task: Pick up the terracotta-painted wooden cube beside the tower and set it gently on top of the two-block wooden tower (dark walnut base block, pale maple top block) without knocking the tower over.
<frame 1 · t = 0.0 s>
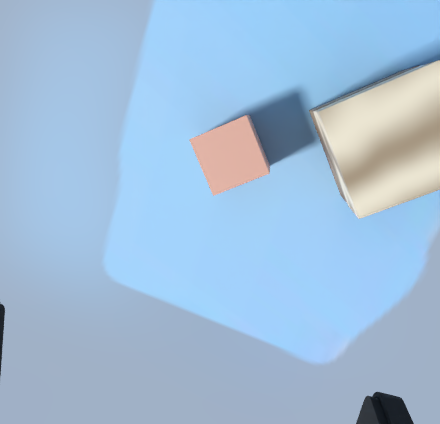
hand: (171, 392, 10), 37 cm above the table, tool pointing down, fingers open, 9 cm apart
terracotta cube: (234, 150, 46), on the table
walnut base block: (370, 135, 44), on the table
maple top block: (381, 139, 39), point 5 cm above the table
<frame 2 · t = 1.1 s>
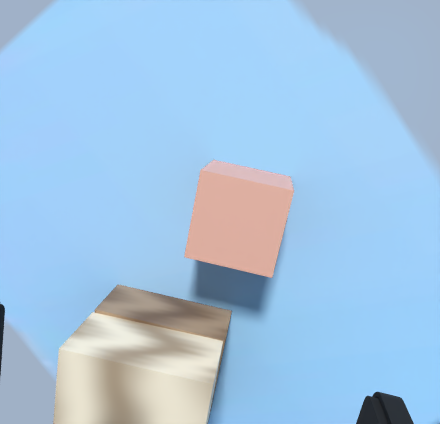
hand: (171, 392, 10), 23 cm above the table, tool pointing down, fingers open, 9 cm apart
terracotta cube: (243, 205, 32), on the table
walnut base block: (166, 346, 36), on the table, touching maple top block
maple top block: (148, 383, 32), point 5 cm above the table, touching walnut base block
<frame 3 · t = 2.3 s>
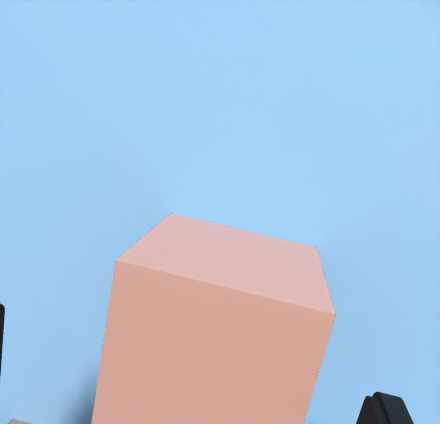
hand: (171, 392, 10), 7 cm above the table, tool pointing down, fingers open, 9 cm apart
terracotta cube: (227, 295, 17), on the table
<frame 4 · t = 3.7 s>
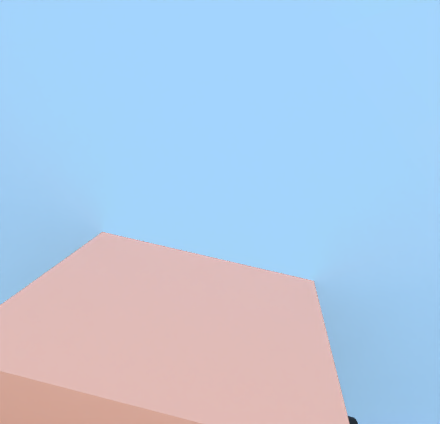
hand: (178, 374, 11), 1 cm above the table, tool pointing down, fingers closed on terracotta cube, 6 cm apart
terracotta cube: (187, 349, 12), on the table, touching gripper
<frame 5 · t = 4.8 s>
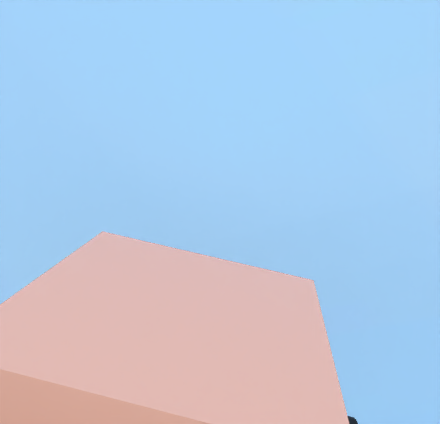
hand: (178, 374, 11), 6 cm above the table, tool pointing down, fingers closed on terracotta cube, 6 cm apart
terracotta cube: (187, 348, 12), point 5 cm above the table, touching gripper
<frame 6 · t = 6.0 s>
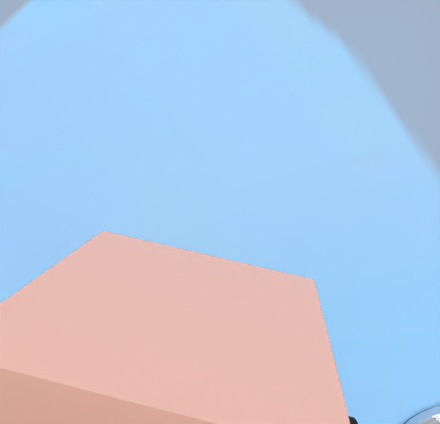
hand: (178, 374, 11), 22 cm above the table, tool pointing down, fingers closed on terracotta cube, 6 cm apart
terracotta cube: (187, 348, 12), point 21 cm above the table, touching gripper
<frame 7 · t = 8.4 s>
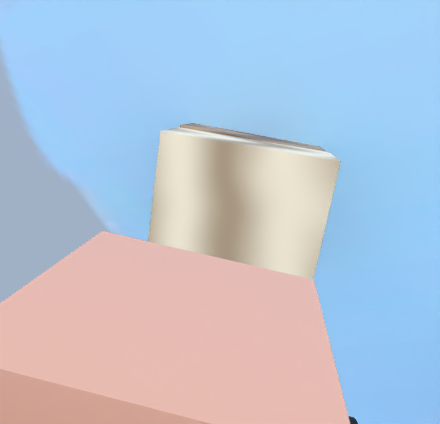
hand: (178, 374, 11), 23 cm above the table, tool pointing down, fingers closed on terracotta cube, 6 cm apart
terracotta cube: (187, 348, 12), point 22 cm above the table, touching gripper
walnut base block: (243, 195, 33), on the table, touching maple top block
maple top block: (240, 211, 29), point 5 cm above the table, touching walnut base block
when the fingers open (12 cm above the table, at t = 11.5 s): terracotta cube drops 2 cm, resting on maple top block.
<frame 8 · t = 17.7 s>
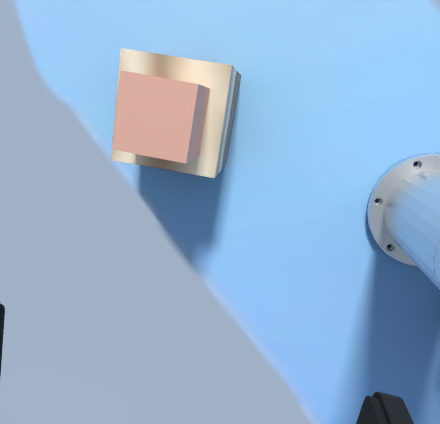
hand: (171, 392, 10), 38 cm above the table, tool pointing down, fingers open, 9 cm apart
terracotta cube: (172, 116, 37), point 10 cm above the table, touching maple top block
walnut base block: (189, 113, 47), on the table, touching maple top block
maple top block: (180, 114, 42), point 5 cm above the table, touching terracotta cube, walnut base block
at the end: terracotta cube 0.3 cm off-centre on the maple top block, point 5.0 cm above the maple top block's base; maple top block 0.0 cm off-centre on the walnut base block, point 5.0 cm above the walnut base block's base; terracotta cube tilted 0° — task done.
